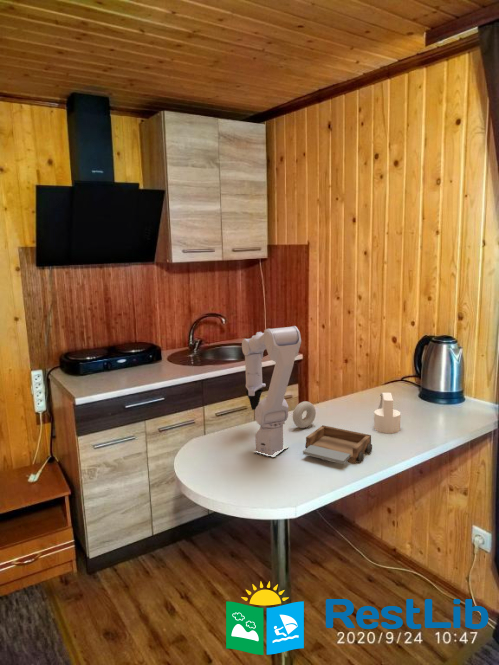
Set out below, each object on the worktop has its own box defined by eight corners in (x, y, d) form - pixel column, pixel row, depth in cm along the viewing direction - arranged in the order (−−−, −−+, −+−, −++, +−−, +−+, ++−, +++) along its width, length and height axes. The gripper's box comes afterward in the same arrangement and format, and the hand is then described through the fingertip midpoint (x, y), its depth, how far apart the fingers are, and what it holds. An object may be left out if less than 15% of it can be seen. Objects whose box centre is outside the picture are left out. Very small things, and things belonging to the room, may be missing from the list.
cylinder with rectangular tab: (401, 433, 167) (402, 401, 165) (374, 432, 169) (375, 400, 166) (398, 424, 176) (399, 392, 173) (373, 423, 177) (373, 392, 175)
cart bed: (358, 464, 145) (358, 449, 144) (304, 451, 156) (303, 436, 155) (373, 450, 155) (373, 435, 154) (320, 438, 165) (320, 424, 164)
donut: (296, 432, 172) (296, 405, 170) (290, 429, 174) (290, 403, 173) (317, 425, 177) (317, 399, 175) (311, 423, 180) (311, 397, 178)
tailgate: (350, 459, 146) (343, 466, 142) (310, 450, 154) (303, 456, 150) (350, 454, 146) (343, 461, 142) (310, 444, 153) (303, 451, 149)
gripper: (262, 377, 159) (263, 416, 162) (267, 366, 173) (268, 402, 176) (241, 377, 160) (243, 416, 163) (248, 366, 175) (249, 402, 177)
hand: (255, 409), depth 169 cm, fingers closed
